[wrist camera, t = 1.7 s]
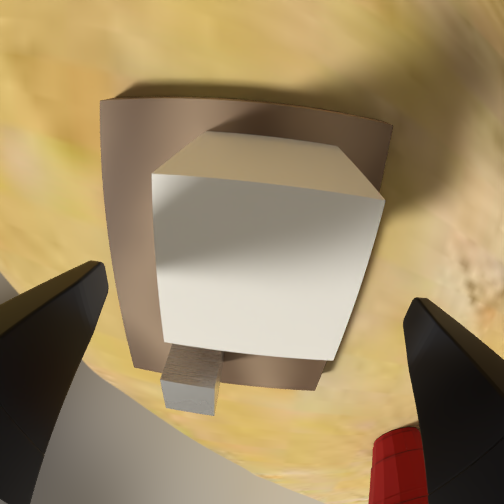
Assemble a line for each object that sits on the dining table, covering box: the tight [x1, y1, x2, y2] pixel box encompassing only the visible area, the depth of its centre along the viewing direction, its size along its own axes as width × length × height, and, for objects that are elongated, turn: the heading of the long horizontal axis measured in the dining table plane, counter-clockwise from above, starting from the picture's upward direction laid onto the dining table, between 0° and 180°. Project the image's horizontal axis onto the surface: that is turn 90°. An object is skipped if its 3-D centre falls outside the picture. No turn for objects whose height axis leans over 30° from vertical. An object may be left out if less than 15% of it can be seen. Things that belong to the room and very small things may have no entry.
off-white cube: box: [152, 131, 386, 361], centre depth 12 cm, size 6×6×7 cm
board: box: [100, 97, 393, 391], centre depth 18 cm, size 14×19×2 cm
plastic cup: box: [369, 427, 429, 504], centre depth 25 cm, size 11×11×12 cm
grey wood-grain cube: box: [160, 343, 224, 416], centre depth 19 cm, size 3×3×4 cm
